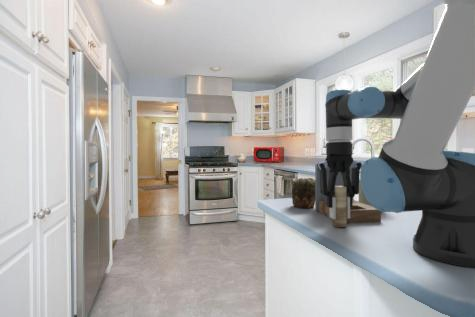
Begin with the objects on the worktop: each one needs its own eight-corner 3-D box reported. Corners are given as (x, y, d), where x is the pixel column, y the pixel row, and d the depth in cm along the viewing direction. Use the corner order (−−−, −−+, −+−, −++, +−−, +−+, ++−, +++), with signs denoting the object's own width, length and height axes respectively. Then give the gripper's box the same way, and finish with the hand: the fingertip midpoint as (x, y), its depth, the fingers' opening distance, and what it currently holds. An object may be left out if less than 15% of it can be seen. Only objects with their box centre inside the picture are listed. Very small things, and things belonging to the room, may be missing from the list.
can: (377, 206, 111) (378, 177, 110) (388, 211, 102) (388, 179, 101) (354, 205, 112) (354, 177, 111) (362, 211, 103) (363, 179, 102)
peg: (349, 226, 81) (349, 187, 81) (336, 227, 81) (336, 187, 80) (342, 223, 85) (342, 185, 85) (330, 223, 85) (330, 185, 84)
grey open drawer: (363, 213, 99) (363, 164, 98) (324, 215, 97) (324, 165, 97) (351, 208, 107) (351, 163, 106) (315, 210, 105) (315, 164, 105)
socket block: (380, 221, 88) (380, 209, 88) (340, 223, 87) (340, 211, 86) (353, 209, 105) (353, 199, 105) (318, 211, 103) (318, 200, 103)
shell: (322, 209, 107) (322, 179, 106) (294, 209, 107) (294, 179, 106) (314, 203, 117) (314, 176, 117) (289, 203, 118) (289, 176, 117)
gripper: (358, 142, 87) (358, 213, 87) (307, 142, 85) (308, 216, 86) (372, 140, 79) (372, 219, 80) (317, 141, 78) (318, 222, 78)
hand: (339, 217), depth 83 cm, fingers closed on peg, 4 cm apart
